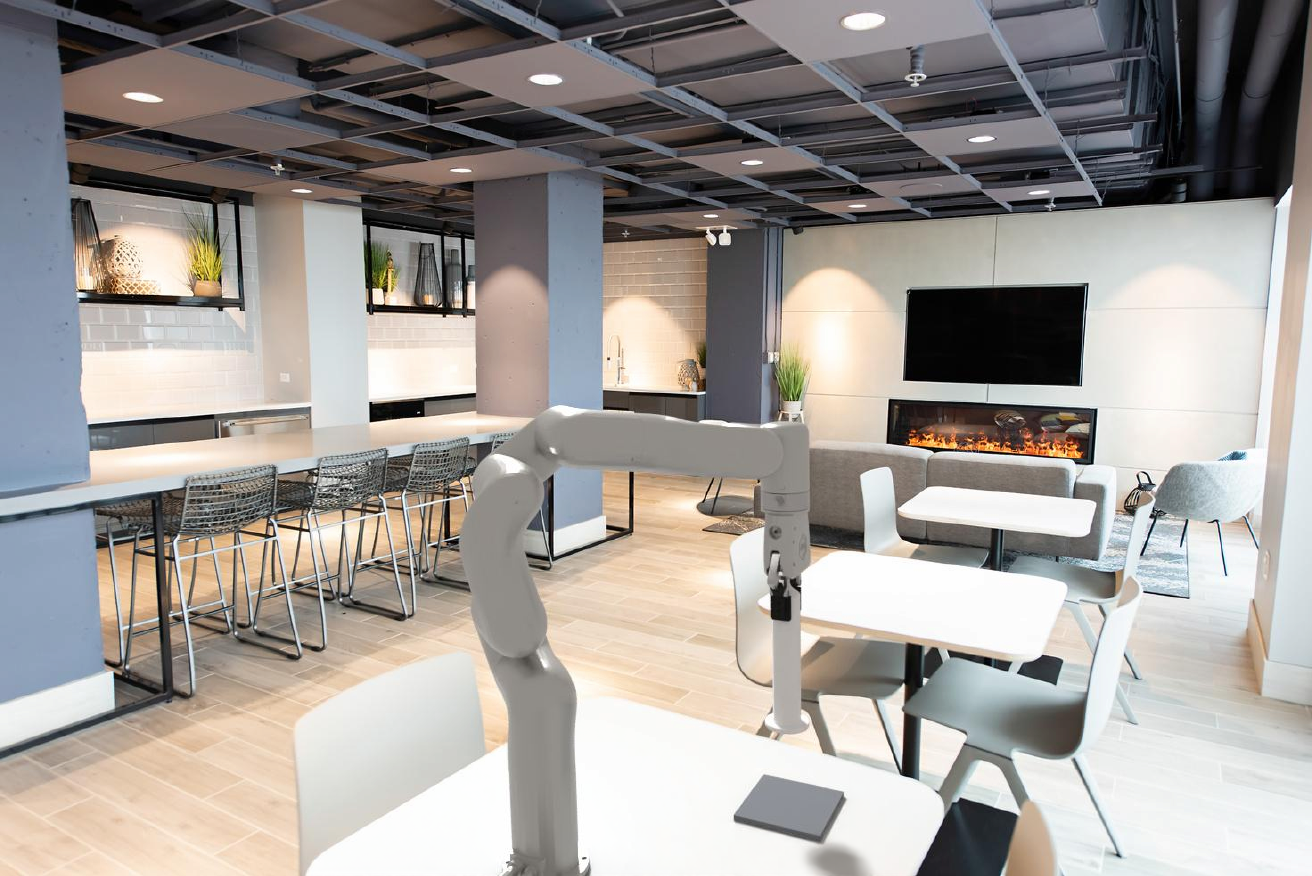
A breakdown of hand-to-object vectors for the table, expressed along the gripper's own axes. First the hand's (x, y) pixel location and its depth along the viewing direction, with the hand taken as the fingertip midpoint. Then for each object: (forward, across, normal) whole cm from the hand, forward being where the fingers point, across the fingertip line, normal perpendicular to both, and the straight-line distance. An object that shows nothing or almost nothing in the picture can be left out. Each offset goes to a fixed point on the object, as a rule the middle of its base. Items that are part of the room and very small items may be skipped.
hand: (786, 614), depth 135 cm
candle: (+19, 0, 0) cm, 19 cm away
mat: (+32, 0, 0) cm, 32 cm away
